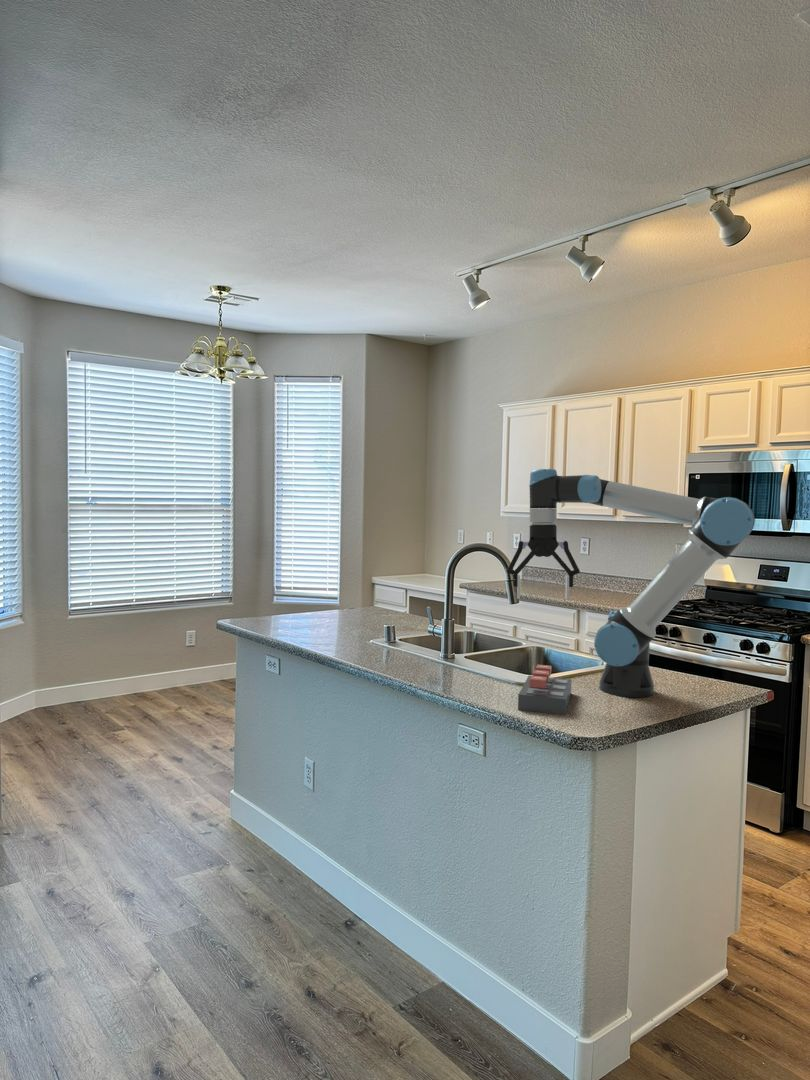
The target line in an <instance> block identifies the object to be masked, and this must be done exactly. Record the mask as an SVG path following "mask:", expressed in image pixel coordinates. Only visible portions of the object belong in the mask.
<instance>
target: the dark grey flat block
mask: <svg viewBox="0 0 810 1080" xmlns="http://www.w3.org/2000/svg"><path fill="white" fill-rule="evenodd" d="M531 676H532V675H528V676H527V678H526V680H525V681H524V682H523V685H522V687H521V688H520V691H519V692H518V697H517V698H518V699H517V701H518V702H517V710H518V711H528V712H535V713H536V712H537V713H545V714H552V715H553V714H555V715H566V714H567V713H566V712H567V710H568V705H569V702H570V699H571V695H572V680H573V679H572V678H571V679H570V678H560V677H551V676H549V680H548V682H547V685H546V687H545V688H538V687H529V684H530V678H531Z"/></svg>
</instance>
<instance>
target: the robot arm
mask: <svg viewBox="0 0 810 1080" xmlns="http://www.w3.org/2000/svg"><path fill="white" fill-rule="evenodd" d="M529 475H530V476H529V485H528V486H529V523H531V524H530V525H529V541H523V540H519V541H518V543H517V545H518V546H517V549H516V551H515V554H514V555H513V557H512V559H511V560H510V562H509V565H508V567H507V569H506V572H507V574H510V575H511V576H512V578H513V579H512V581H513V582H512V583H513V584H512V586H513V587H514V588H516V589H517V591H516V593H517V594H516V595H517V598H516V599H517V600H521V575H520V574H519V573H520V572H521V571H522V570H523V569H524V568H525V567H526V565H528V563H529V562H530V561H531V559H532V558H534V556H536V557H538V558H541V557H546V558H549V557H553V558H554V559H555V561H557V563H558V564H559V565H560V566H561V567H562V569H564V571H565V572H566V574H567V575H565V600H570V588H573V587H574V576H575V575H578V574H580V573H581V570H580V568H579V566H578V564H577V562H576V561H575V559H574V556H573V555H572V553H571V551H570V549H569V542H568V541H567V540H563V541H558V540H557V537H558V536H557V532H558V531H557V530H558V529H557V525H556V523H557V520H558V519H557V516H558V515H557V514H558V513H557V512H558V510H557V505H558V503H559V504H561V503H572V504H574V503H577V504H579V503H580V504H583V503H584V504H592V505H596V506H601V507H606V508H609V509H614V510H619V511H624V512H628V513H633V514H636V515H637V514H638V515H641V516H645V517H649V518H650V517H651V518H655V519H658V520H659V519H660V520H664V521H668V522H674V523H677V524H682V525H686V526H690V528H689V529H688V539H687V540H686V541H685V542H684V544H683V545H682V546H681V547H680V548H679V549H678V550H677V551H676V553H675V554H674V555H673V556H672V557H671V559H670V560H669V561H668V562H667V563H666V564H665V565H664V566H663V567H662V569H661V570H660V571H659V572H658V573H657V574H656V576H655V577H654V578H653V579H652V580H651V581H650V582H649V583H648V584H647V586H646V587H645V588H644V589H643V590H642V591H641V592H640V594H639V595H638V596H637V597H636V598H635V599H634V600H633V601H632V602H631V604H630V605H629V606H621V607H619V609H618V610H610V611H609V613H608V617H607V622H606V624H603V626H601V627H600V628H598V630H597V632H596V634H595V637H594V642H593V643H594V649H595V652H596V654H597V656H598V657H599V658H600V659H601V660H602V662H604V663H605V666H604V669H603V671H602V673H601V677H600V679H599V685H598V686H599V690H600V691H602V692H604V693H607V694H609V695H613V696H618V697H625V698H645V697H647V698H648V697H650V696H653V695H654V694H655V685H654V681H653V677H652V674H651V669H650V666H649V663H650V648H651V647H650V643H651V642H652V641H653V640H654V639H655V637H656V627H657V626H658V625H659V624H660V623H661V622H662V620H664V618H666V616H667V615H668V614H669V613H670V612H671V611H672V610H673V608H675V606H676V605H677V604H678V603H679V602H680V601H681V600H682V599H683V597H684V596H686V594H687V593H688V592H689V591H690V590H691V589H692V587H694V586H695V584H697V582H698V581H700V579H701V578H702V577H703V575H705V573H706V572H707V571H708V570H709V569H710V568H711V567H712V566H713V564H714V563H716V561H718V560H725V559H727V558H729V557H730V556H731V554H732V553H733V552H734V551H736V549H737V547H739V546H740V544H741V543H742V542H743V541H745V540H746V538H748V536H750V534H751V532H752V531H753V529H754V527H755V523H756V522H755V521H756V517H755V514H754V511H753V509H752V508H751V507H750V506H749V504H748V503H747V502H745V501H743V500H741V499H739V498H737V497H731V496H727V497H726V496H724V497H720V498H718V497H717V498H716V497H715V498H714V497H708V496H703V497H701V498H696V497H690V496H685V495H681V494H677V493H671V492H666V491H661V490H656V489H653V488H652V489H651V488H647V487H642V486H636V485H631V484H626V483H623V482H622V483H621V482H617V481H612V480H611V481H610V480H606V479H601V478H600V477H599V476H598V475H596V474H595V475H594V474H592V475H591V474H581V475H563V476H562V475H558V472H557V470H556V469H555V468H552V469H551V468H545V469H544V468H540V469H539V468H538V469H537V468H536V469H533V470H531V472H530V474H529ZM526 547H528V548H529V549H530V552H529V553H528V554H527V556H526V557H525V558H524V559H523V560H522V561H521V562H520V563H519V565H518V566H517V567H516V568H514V567H515V565H516V563H517V562H518V559H519V557H520V555H521V554H522V551H523V550H524V549H526ZM558 547H560V548H561V549H562V550H563V551H564V553H565V555H566V557H567V560H568V561H569V563H570V565H571V567H572V570H571V568H569V566H568V565H567V563H565V562H564V560H563V559H562V558H561V557H560V556H559V554H558V553H557V552H556V550H557V549H558ZM513 574H514V575H513ZM514 579H515V580H514Z"/></svg>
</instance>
